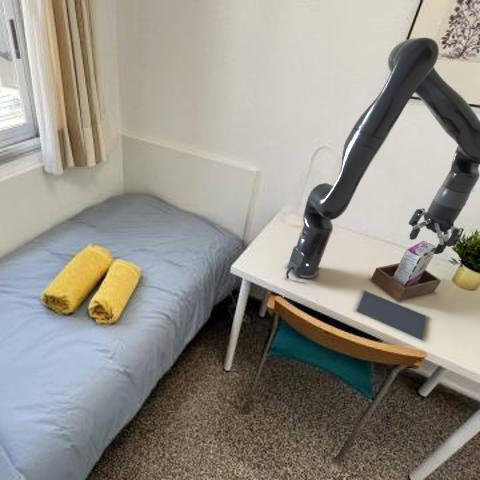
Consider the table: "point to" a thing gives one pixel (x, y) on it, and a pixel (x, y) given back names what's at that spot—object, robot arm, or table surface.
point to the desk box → (400, 292)
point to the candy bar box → (414, 264)
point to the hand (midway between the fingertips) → (424, 246)
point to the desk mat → (392, 314)
